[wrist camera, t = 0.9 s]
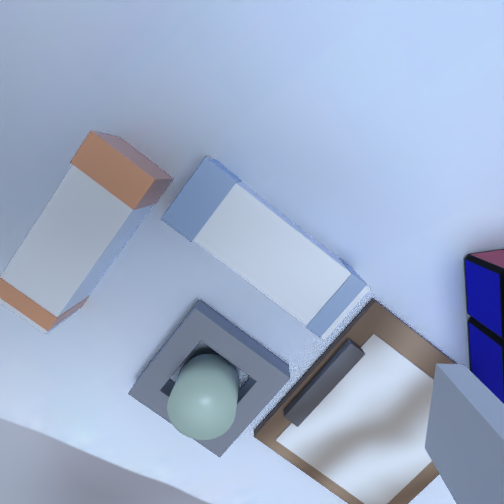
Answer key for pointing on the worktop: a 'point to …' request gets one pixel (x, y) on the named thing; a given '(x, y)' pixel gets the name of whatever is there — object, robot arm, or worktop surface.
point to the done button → (204, 397)
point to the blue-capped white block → (265, 248)
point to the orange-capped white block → (81, 230)
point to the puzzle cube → (486, 318)
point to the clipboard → (362, 412)
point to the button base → (231, 348)
